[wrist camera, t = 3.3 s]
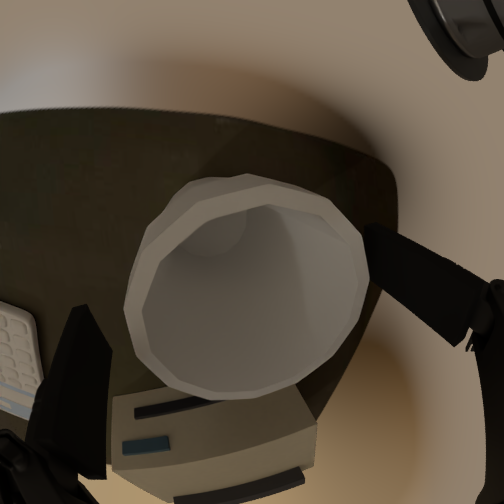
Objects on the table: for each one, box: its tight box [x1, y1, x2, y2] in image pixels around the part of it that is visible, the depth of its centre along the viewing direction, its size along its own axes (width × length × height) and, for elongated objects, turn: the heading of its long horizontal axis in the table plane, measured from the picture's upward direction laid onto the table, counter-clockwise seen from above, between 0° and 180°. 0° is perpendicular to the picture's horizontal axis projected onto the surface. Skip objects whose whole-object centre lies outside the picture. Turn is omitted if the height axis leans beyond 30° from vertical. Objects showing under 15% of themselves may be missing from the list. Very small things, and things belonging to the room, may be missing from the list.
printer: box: [111, 384, 317, 504], centre depth 25 cm, size 20×14×12 cm
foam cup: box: [124, 173, 370, 400], centre depth 15 cm, size 10×9×13 cm
